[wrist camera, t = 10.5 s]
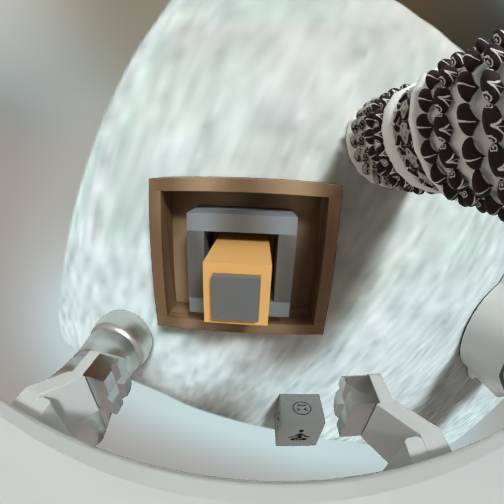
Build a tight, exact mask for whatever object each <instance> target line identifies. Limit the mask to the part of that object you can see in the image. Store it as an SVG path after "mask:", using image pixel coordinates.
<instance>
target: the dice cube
mask: <svg viewBox="0 0 504 504" xmlns="http://www.w3.org/2000/svg"><path fill="white" fill-rule="evenodd" d="M324 425H325V418H324V414H323V409H322V405H321V400H320V396H319V394H280V396H279V401H278V405H277V410H276V414H275V437H276V446H309V445H316V443H317V441H318V438H319V436H320V434H321V432H322V429H323V427H324Z"/></svg>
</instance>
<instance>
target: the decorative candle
mask: <svg viewBox="0 0 504 504" xmlns="http://www.w3.org/2000/svg"><path fill="white" fill-rule="evenodd" d="M460 68H461V69H460ZM346 144H347V149H348V154H349V157H350V159H351V161H352V162H353V164H354V166H355V167H356V169H357V171H358V172H359V173H360V174H361V175H363V176H364V177H365V178H366V179H367V180H369V181H370V182H371V183H374V184H377V185H381V186H384V187H387V188H389V189H393V188H395V189H396V190H398V191H400V190H402V189H404V190H405V191H407V192H414V193H416V194H423V193H424V192H425V191H426V192H427V193H429V194H435V193H442V194H443V195H444V196H445V197H446V198H447V199H448V200H456V201H458V202H459V204H460V205H462V206H464V207H468V206H469V207H473V206H475V205H476V208H477V209H478V210H479V211H480V212H482V213H485V212H488V213H489V214H490V215H497V214H498V217H499V219H500V220H501V221H503V222H504V207H502V206H504V29H497V30H495V31H494V33H493V36H492V39H491V40H489V39H488V38H485V37H481V38H478V39H477V40H476V42H475V47H470V48H468V50H467V51H466V52H465V53H463V52H456V53H454V54H452V56H451V58H450V60H449V59H442V60H441V61H440V62H439V63H438V68H435V69H433V70H431V71H429V72H427V73H425V74H423V75H421V77H420V79H419V81H418V82H416V83H414V84H412V85H408V84H404V85H402V86H401V87H400V89H397V88H393V89H390V90H389V91H388V93H384V94H382V95H381V96H380V97H376V98H373V99H372V100H371V101H369V102H367V103H365V104H364V106H363V107H361V108H359V109H358V110H357V111H356V112H355V114H354V115H353V116H352V118H351V119H350V121H349V122H348V128H347V134H346ZM501 203H502V204H503V205H502V204H501Z"/></svg>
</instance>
